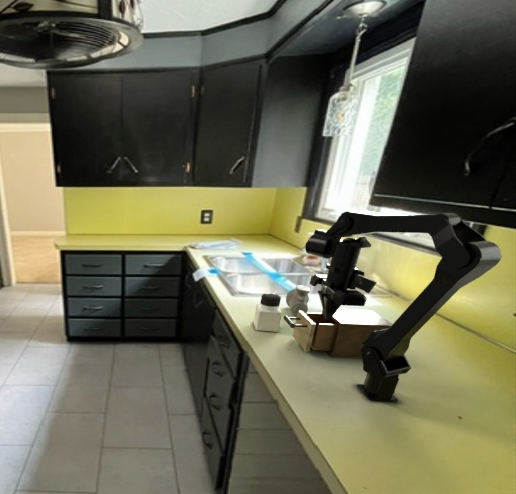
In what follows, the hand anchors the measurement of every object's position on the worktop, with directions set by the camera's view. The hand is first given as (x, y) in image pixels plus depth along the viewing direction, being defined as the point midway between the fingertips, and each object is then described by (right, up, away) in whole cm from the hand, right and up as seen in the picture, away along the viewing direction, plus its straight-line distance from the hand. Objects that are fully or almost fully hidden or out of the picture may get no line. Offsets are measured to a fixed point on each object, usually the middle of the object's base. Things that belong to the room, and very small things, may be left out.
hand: (327, 319), depth 99 cm
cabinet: (+14, -8, +13) cm, 21 cm away
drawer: (+4, -7, +14) cm, 16 cm away
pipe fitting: (+12, +4, +42) cm, 44 cm away
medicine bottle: (-5, -2, +28) cm, 29 cm away
